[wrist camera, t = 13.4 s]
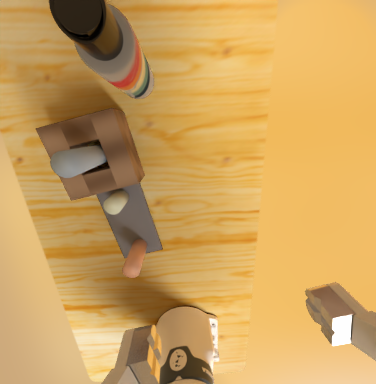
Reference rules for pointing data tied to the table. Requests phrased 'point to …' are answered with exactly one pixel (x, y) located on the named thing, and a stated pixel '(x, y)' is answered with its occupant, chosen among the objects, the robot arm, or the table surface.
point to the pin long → (77, 160)
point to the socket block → (111, 144)
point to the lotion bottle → (105, 43)
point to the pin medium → (135, 258)
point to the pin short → (116, 202)
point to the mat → (132, 221)
